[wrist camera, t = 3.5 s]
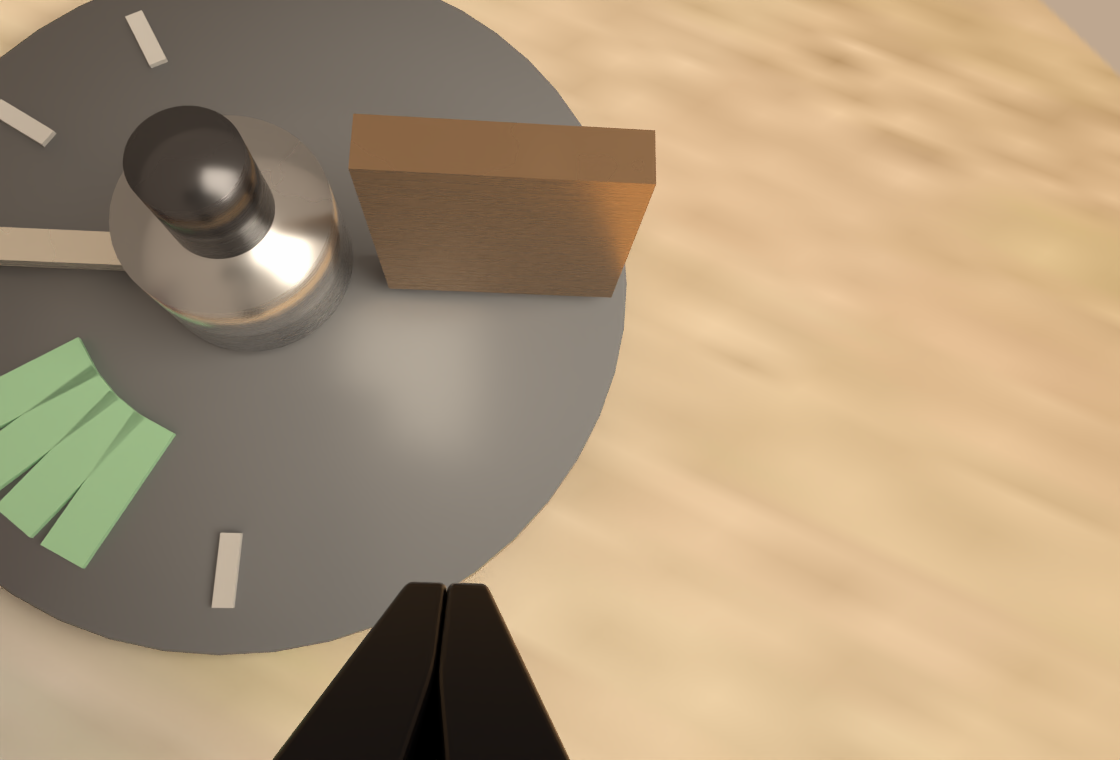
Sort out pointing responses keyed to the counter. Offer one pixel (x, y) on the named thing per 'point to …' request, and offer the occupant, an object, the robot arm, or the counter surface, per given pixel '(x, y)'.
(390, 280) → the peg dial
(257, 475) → the gauge plate
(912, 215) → the counter surface
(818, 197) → the counter surface
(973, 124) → the counter surface
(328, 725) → the robot arm
